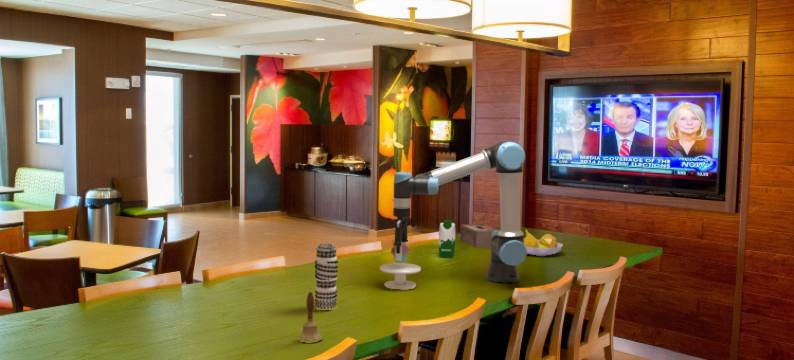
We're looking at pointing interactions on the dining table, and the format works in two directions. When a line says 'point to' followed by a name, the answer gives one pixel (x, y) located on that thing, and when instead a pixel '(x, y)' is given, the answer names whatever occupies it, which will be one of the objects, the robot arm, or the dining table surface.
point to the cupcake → (404, 253)
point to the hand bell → (310, 322)
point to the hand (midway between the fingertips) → (400, 258)
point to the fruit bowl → (541, 245)
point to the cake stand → (400, 275)
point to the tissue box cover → (477, 235)
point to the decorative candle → (326, 276)
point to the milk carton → (447, 239)
